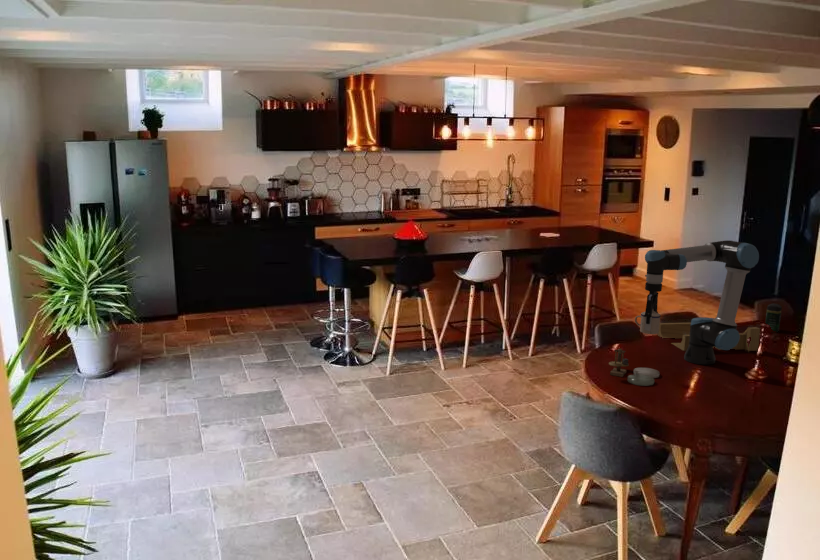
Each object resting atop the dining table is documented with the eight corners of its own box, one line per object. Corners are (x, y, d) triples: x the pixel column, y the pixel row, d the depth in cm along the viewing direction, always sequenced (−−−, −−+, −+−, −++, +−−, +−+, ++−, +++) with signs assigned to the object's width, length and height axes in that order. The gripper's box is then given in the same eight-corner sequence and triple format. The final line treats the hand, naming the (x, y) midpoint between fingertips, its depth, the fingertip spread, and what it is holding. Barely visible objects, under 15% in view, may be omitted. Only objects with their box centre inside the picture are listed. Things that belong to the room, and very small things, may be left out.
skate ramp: (719, 337, 411) (721, 311, 408) (757, 354, 376) (760, 325, 374) (656, 338, 405) (659, 312, 402) (690, 356, 370) (692, 327, 367)
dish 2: (656, 380, 327) (656, 377, 327) (651, 387, 317) (651, 384, 316) (630, 376, 333) (630, 373, 332) (624, 382, 322) (625, 379, 322)
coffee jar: (777, 336, 413) (781, 306, 410) (763, 334, 418) (766, 304, 414) (779, 333, 421) (783, 303, 418) (765, 331, 426) (768, 301, 422)
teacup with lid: (661, 332, 334) (664, 308, 332) (655, 335, 327) (657, 311, 325) (637, 327, 341) (639, 305, 339) (630, 331, 334) (632, 307, 332)
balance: (617, 367, 347) (619, 340, 344) (629, 369, 344) (631, 342, 341) (606, 378, 328) (608, 350, 326) (619, 380, 325) (621, 352, 323)
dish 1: (661, 373, 338) (661, 370, 338) (656, 379, 328) (657, 376, 327) (636, 369, 344) (636, 366, 344) (631, 375, 334) (631, 372, 333)
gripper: (650, 278, 340) (646, 322, 344) (640, 284, 321) (636, 331, 325) (666, 280, 336) (662, 325, 340) (657, 286, 317) (652, 333, 321)
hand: (649, 328), depth 332 cm, fingers closed on teacup with lid, 9 cm apart
